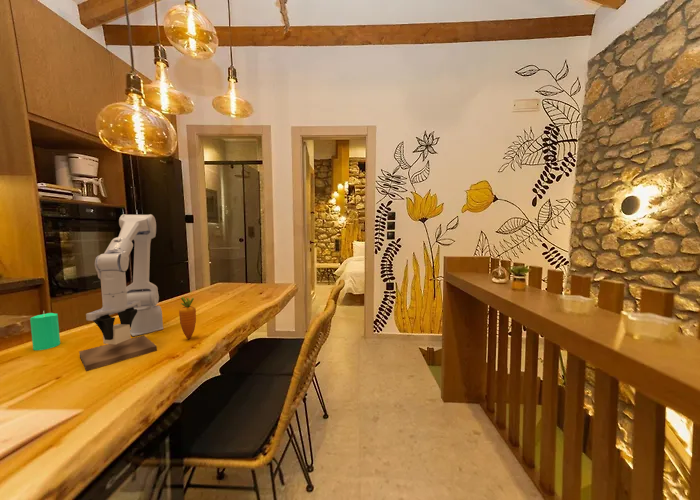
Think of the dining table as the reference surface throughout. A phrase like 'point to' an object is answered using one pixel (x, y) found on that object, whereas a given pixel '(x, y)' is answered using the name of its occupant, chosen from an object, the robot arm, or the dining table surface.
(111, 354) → the walnut board
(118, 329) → the cube
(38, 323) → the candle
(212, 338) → the dining table surface
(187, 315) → the carrot
